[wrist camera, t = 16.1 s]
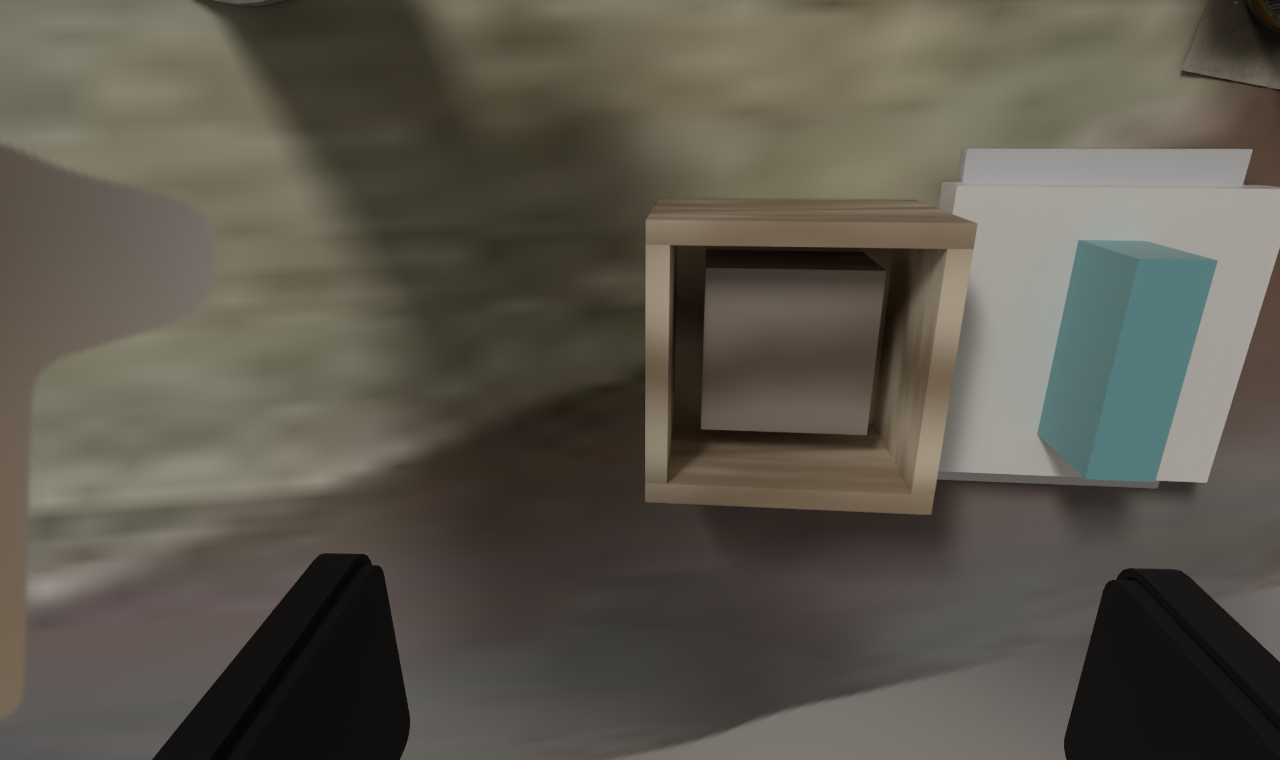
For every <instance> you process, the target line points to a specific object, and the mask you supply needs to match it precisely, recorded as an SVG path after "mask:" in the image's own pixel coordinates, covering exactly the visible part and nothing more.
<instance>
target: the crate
mask: <svg viewBox="0 0 1280 760" xmlns="http://www.w3.org/2000/svg"><path fill="white" fill-rule="evenodd" d="M977 225H978V224H977V223H975V222H972V221H969V220H967V219H964V218H961V217H959V216H956V215H953V214H951V213H948V212H945V211H943V210H940V209H938V208H935V207H932V206H930V205H927V204H924V203H922V202H919V201H916V200H860V199H737V198H659V200H658V202H657V203H656V205H655V206H654V208H653V209H652V211H651V212H650V214H649V216H648V217H647V219H646V316H645V502H653V503H675V504H697V505H720V506H742V507H764V508H786V509H809V510H831V511H853V512H876V513H898V514H920V515H931V513H932V507H933V500H934V494H935V488H936V482H937V475H938V469H939V463H940V457H941V450H942V444H943V438H944V432H945V425H946V419H947V413H948V406H949V400H950V394H951V388H952V381H953V375H954V369H955V363H956V356H957V350H958V344H959V338H960V331H961V325H962V319H963V313H964V306H965V300H966V294H967V287H968V281H969V275H970V269H971V262H972V256H973V250H974V244H975V237H976V231H977Z"/></svg>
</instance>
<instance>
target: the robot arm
mask: <svg viewBox="0 0 1280 760" xmlns="http://www.w3.org/2000/svg"><path fill="white" fill-rule="evenodd" d="M214 1H219V2H223V3H227V4H232V5H241V6H262V5H267V4H272V3H278V2H281V1H284V0H214ZM409 729H410V714H409V709H408V703H407V698H406V692H405V687H404V682H403V676H402V671H401V665H400V660H399V654H398V649H397V643H396V638H395V632H394V627H393V621H392V616H391V610H390V605H389V599H388V594H387V588H386V583H385V577H384V573H383V570H382V568H381V567H380V566H378V565H372V564H371V560H370V559H369V557H368V556H367V555H364V554H333V553H324V554H321V555H319V556H318V557H317V558H316V559H315V560H314V561H313V562H312V563H311V565H310V566H309V567H308V568H307V570H306V571H305V572H304V573H303V574H302V576H301V577H300V578H299V579H298V581H297V582H296V583H295V584H294V586H293V587H292V588H291V589H290V590H289V592H288V593H287V594H286V595H285V597H284V598H283V599H282V600H281V602H280V603H279V604H278V605H277V606H276V608H275V609H274V610H273V611H272V613H271V614H270V615H269V616H268V618H267V619H266V620H265V621H264V622H263V624H262V625H261V626H260V627H259V629H258V630H257V631H256V632H255V634H254V635H253V636H252V637H251V639H250V640H249V641H248V642H247V643H246V645H245V646H244V647H243V648H242V650H241V651H240V652H239V653H238V655H237V656H236V657H235V658H234V659H233V661H232V662H231V663H230V664H229V666H228V667H227V668H226V669H225V671H224V672H223V673H222V674H221V675H220V677H219V678H218V679H217V680H216V682H215V683H214V684H213V685H212V687H211V688H210V689H209V690H208V691H207V693H206V694H205V695H204V696H203V698H202V699H201V700H200V701H199V703H198V704H197V705H196V706H195V707H194V709H193V710H192V711H191V712H190V714H189V715H188V716H187V717H186V719H185V720H184V721H183V722H182V723H181V725H180V726H179V727H178V728H177V730H176V731H175V732H174V733H173V735H172V736H171V737H170V738H169V739H168V741H167V742H166V743H165V744H164V746H163V747H162V748H161V749H160V751H159V752H158V753H157V754H156V755H155V757H154V758H153V759H152V760H400V758H401V756H402V753H403V751H404V749H405V746H406V743H407V740H408V735H409ZM1064 750H1065V755H1066V759H1067V760H1280V662H1279V661H1278V660H1277V659H1276V658H1275V657H1274V656H1273V655H1272V654H1271V653H1269V652H1268V651H1267V650H1266V649H1265V648H1264V647H1263V646H1262V645H1261V644H1260V643H1259V642H1258V641H1257V640H1256V639H1254V637H1252V636H1251V635H1250V634H1249V633H1248V632H1247V631H1246V630H1245V629H1244V628H1243V627H1242V626H1241V625H1239V623H1238V622H1236V621H1235V620H1234V619H1233V618H1232V617H1231V616H1230V615H1229V614H1228V613H1227V612H1226V611H1225V610H1224V609H1222V607H1221V606H1220V605H1218V604H1217V603H1216V602H1215V601H1214V600H1213V599H1212V598H1211V597H1210V596H1209V595H1208V594H1207V593H1206V592H1205V591H1204V590H1203V589H1201V588H1200V587H1199V586H1198V585H1197V584H1196V583H1195V582H1194V581H1193V580H1192V579H1191V578H1190V577H1189V576H1187V575H1186V574H1185V573H1183V572H1182V571H1179V570H1175V569H1134V568H1129V569H1125V570H1123V571H1122V572H1121V573H1120V574H1119V575H1118V577H1117V580H1111V581H1109V582H1108V583H1107V584H1106V585H1105V588H1104V590H1103V594H1102V598H1101V601H1100V605H1099V609H1098V613H1097V616H1096V620H1095V624H1094V628H1093V632H1092V635H1091V639H1090V643H1089V647H1088V651H1087V654H1086V658H1085V662H1084V666H1083V670H1082V673H1081V677H1080V681H1079V685H1078V689H1077V692H1076V697H1075V700H1074V704H1073V708H1072V711H1071V715H1070V719H1069V723H1068V727H1067V730H1066V734H1065V739H1064Z"/></svg>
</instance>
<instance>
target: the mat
mask: <svg viewBox="0 0 1280 760" xmlns="http://www.w3.org/2000/svg"><path fill="white" fill-rule="evenodd" d="M1252 150H1253V149H1011V148H963V152H962V159H961V165H960V172H959V179H958V182H977V183H1082V184H1187V185H1243V183H1244V179H1245V175H1246V172H1247V168H1248V165H1249V161H1250V158H1251V154H1252ZM937 480H962V481H986V482H1011V483H1035V484H1060V485H1085V486H1109V487H1134V488H1158V485H1159V482H1160V481H1155V482H1138V481H1115V480H1092V479H1084V478H1083V477H1061V476H1037V475H1014V474H991V473H967V472H944V471H938V475H937Z"/></svg>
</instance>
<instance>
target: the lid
mask: <svg viewBox="0 0 1280 760" xmlns="http://www.w3.org/2000/svg"><path fill="white" fill-rule="evenodd" d="M939 209H940V210H943V211H945V212H948V213H951V214H953V215H956V216H959V217H961V218H964V219H967V220H969V221H972V222H975V223H977V224H978V225H977V231H976V237H975V244H974V250H973V256H972V262H971V269H970V275H969V281H968V287H967V294H966V300H965V306H964V313H963V319H962V325H961V331H960V338H959V344H958V350H957V356H956V363H955V369H954V375H953V381H952V388H951V394H950V400H949V406H948V413H947V419H946V425H945V432H944V438H943V444H942V450H941V457H940V463H939V469H938V471H944V472H967V473H991V474H1014V475H1037V476H1061V477H1083V478H1084V479H1092V480H1115V481H1138V482H1155V481H1178V482H1201V483H1207V480H1208V477H1209V474H1210V470H1211V467H1212V464H1213V461H1214V457H1215V454H1216V451H1217V448H1218V445H1219V441H1220V438H1221V435H1222V432H1223V428H1224V425H1225V422H1226V419H1227V416H1228V412H1229V409H1230V406H1231V403H1232V399H1233V396H1234V393H1235V390H1236V387H1237V383H1238V380H1239V377H1240V374H1241V370H1242V367H1243V364H1244V361H1245V358H1246V354H1247V351H1248V348H1249V345H1250V341H1251V338H1252V335H1253V332H1254V329H1255V325H1256V322H1257V319H1258V316H1259V312H1260V309H1261V306H1262V303H1263V300H1264V296H1265V293H1266V290H1267V287H1268V284H1269V280H1270V277H1271V274H1272V271H1273V267H1274V264H1275V261H1276V258H1277V255H1278V251H1279V248H1280V187H1273V186H1264V185H1187V184H1082V183H977V182H942V189H941V196H940V203H939Z"/></svg>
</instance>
